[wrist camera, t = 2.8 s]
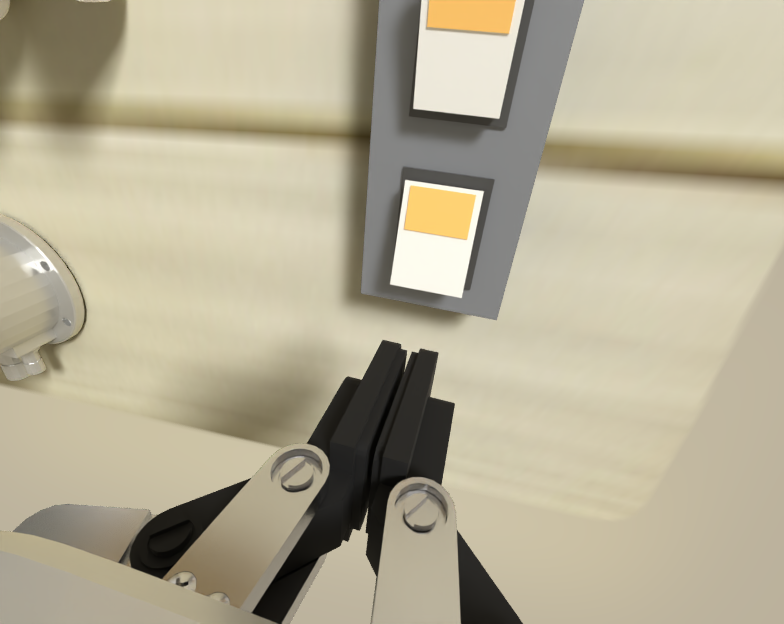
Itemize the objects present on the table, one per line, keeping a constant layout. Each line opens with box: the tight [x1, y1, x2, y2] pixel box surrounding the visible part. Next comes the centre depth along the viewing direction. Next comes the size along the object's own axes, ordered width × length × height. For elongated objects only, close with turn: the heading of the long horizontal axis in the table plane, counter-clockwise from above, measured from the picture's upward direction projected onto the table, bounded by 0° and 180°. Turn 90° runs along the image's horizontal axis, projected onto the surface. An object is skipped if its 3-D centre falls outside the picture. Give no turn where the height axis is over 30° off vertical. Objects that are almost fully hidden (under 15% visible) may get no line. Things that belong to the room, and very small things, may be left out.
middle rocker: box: [413, 0, 525, 119], centre depth 14 cm, size 5×4×1 cm
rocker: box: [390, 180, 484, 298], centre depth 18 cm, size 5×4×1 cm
